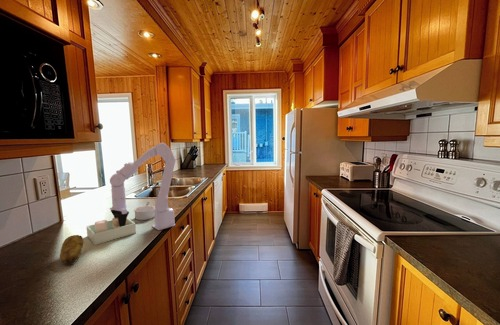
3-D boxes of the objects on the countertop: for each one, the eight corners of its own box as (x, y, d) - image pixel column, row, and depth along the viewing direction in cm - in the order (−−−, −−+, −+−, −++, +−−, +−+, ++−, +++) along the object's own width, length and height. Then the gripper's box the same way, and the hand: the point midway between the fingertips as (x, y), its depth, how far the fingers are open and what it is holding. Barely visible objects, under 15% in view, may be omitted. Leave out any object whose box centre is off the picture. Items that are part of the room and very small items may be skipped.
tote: (126, 225, 120) (125, 216, 119) (135, 233, 111) (135, 223, 110) (87, 236, 107) (86, 226, 107) (94, 245, 98) (93, 234, 98)
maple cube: (124, 225, 115) (123, 215, 115) (127, 228, 112) (126, 218, 111) (113, 228, 112) (112, 218, 111) (116, 231, 108) (115, 221, 108)
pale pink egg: (106, 233, 110) (105, 219, 109) (109, 236, 106) (108, 222, 105) (94, 236, 106) (93, 222, 105) (97, 239, 103) (96, 225, 102)
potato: (48, 269, 80) (46, 248, 80) (69, 251, 93) (67, 233, 92) (75, 266, 82) (73, 246, 81) (91, 249, 95) (90, 231, 94)
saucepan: (158, 209, 148) (158, 201, 147) (154, 220, 129) (154, 210, 128) (139, 210, 145) (138, 202, 144) (132, 222, 125) (131, 212, 125)
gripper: (105, 196, 112) (107, 223, 114) (114, 202, 102) (116, 231, 104) (120, 194, 117) (122, 219, 119) (131, 199, 107) (132, 226, 109)
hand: (120, 224), depth 112 cm, fingers closed on maple cube, 5 cm apart
